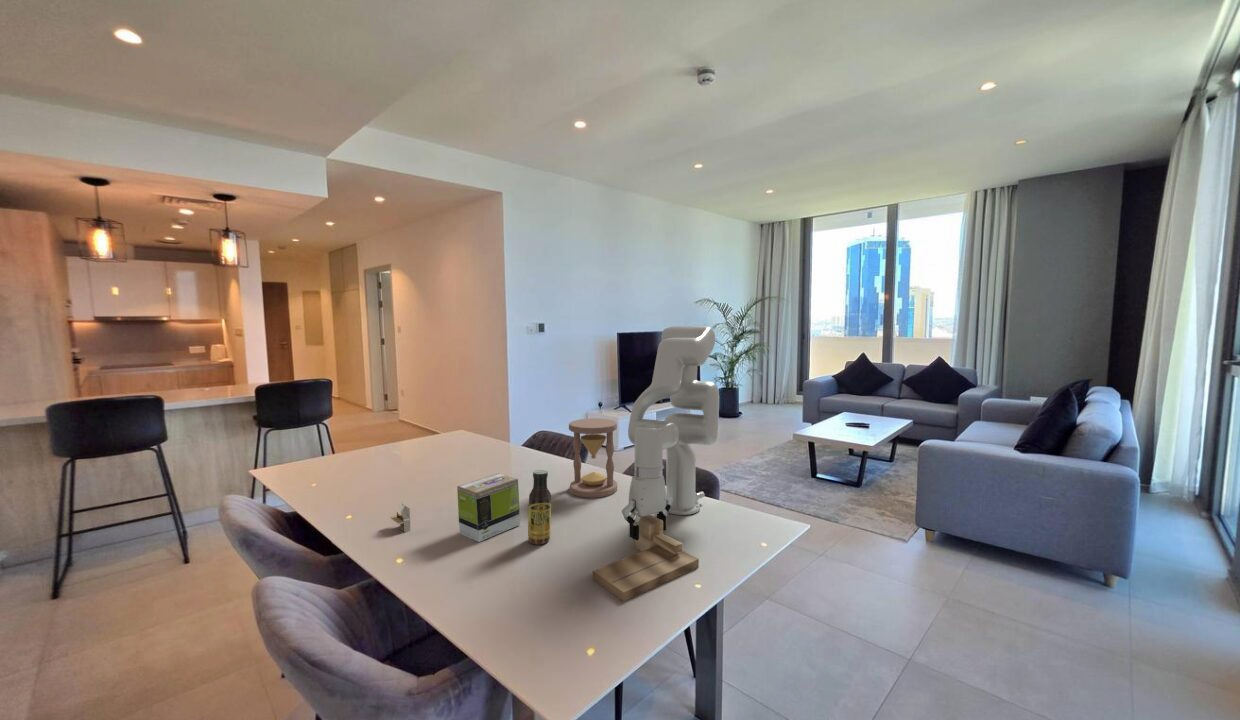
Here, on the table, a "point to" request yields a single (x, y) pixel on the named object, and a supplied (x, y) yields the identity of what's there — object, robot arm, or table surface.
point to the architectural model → (403, 518)
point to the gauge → (655, 535)
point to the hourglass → (593, 482)
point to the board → (643, 571)
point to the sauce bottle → (539, 509)
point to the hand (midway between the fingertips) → (648, 533)
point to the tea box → (488, 506)
